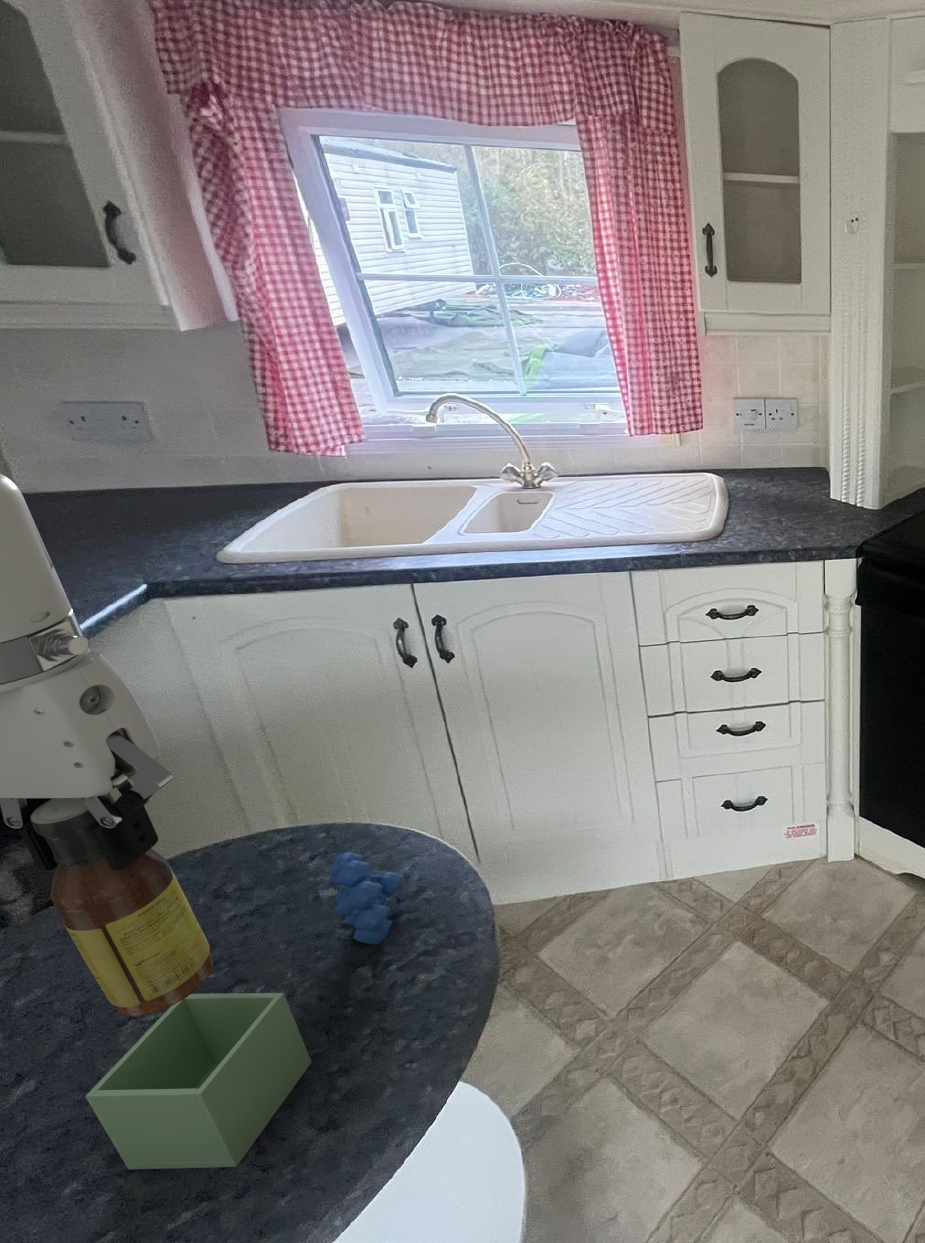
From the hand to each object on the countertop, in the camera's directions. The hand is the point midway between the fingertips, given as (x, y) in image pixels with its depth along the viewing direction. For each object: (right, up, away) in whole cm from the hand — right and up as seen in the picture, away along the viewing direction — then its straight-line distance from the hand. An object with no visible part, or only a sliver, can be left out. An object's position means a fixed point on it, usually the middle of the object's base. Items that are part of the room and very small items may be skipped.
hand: (100, 854), depth 58 cm
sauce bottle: (-1, -14, +6) cm, 15 cm away
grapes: (0, -22, +30) cm, 37 cm away
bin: (-1, -29, +11) cm, 31 cm away
